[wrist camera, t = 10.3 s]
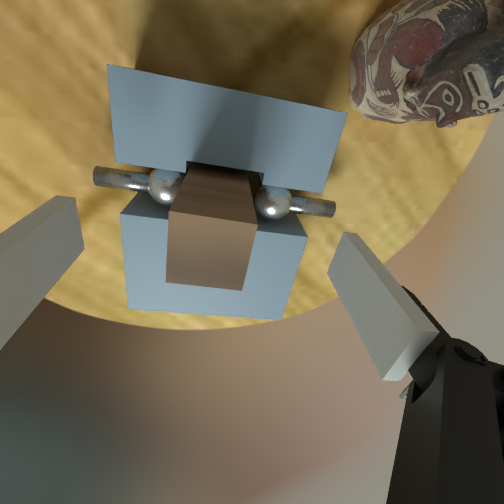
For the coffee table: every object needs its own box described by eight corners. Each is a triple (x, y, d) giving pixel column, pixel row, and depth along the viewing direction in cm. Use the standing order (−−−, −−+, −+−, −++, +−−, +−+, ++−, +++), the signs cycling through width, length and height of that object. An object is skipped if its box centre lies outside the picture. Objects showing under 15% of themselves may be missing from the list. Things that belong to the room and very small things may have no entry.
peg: (196, 152, 22) (168, 210, 12) (244, 161, 22) (258, 224, 12) (192, 198, 24) (165, 282, 14) (236, 205, 24) (242, 291, 14)
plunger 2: (256, 174, 22) (260, 186, 19) (331, 186, 23) (344, 198, 20) (250, 208, 23) (253, 223, 21) (320, 218, 24) (331, 233, 22)
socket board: (134, 69, 19) (106, 64, 14) (323, 107, 21) (347, 113, 16) (143, 275, 28) (128, 309, 23) (273, 286, 30) (281, 320, 26)
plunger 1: (103, 150, 20) (84, 159, 17) (192, 164, 21) (187, 175, 18) (107, 189, 21) (90, 203, 19) (189, 200, 22) (185, 215, 20)
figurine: (325, 83, 20) (427, 79, 10) (400, -26, 17) (655, -190, 7) (387, 139, 22) (519, 184, 12) (461, 53, 20) (714, 18, 9)
